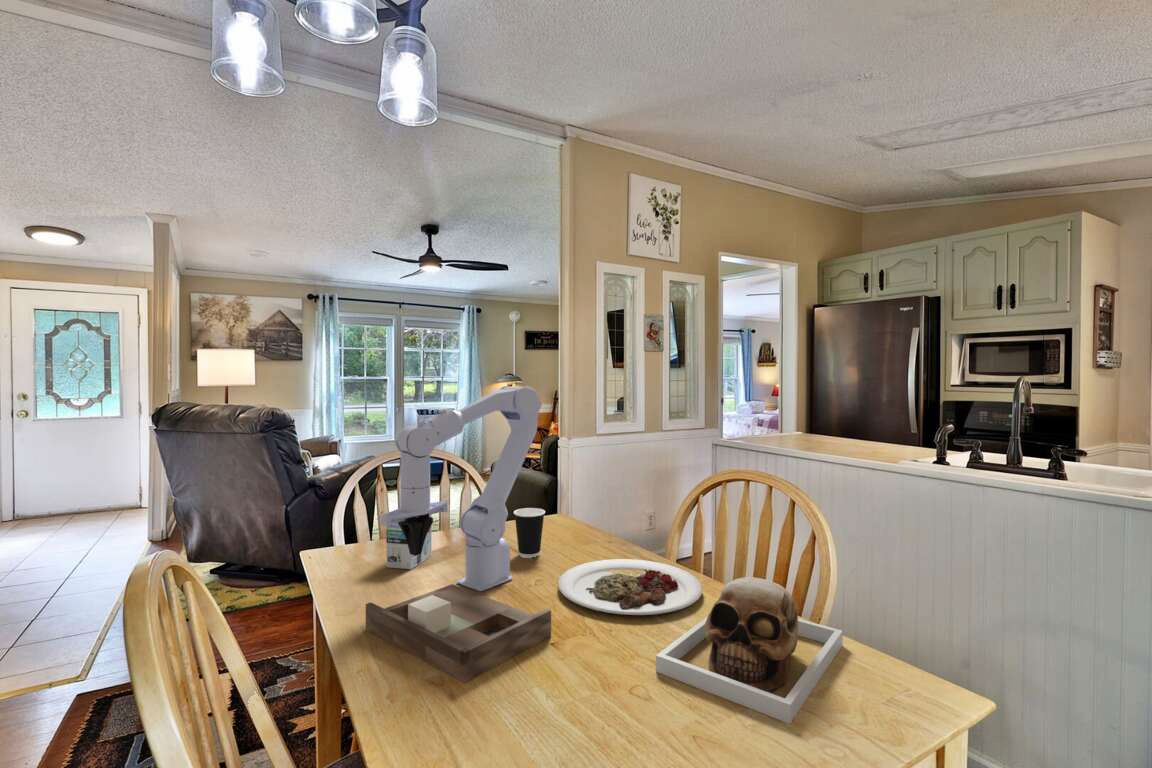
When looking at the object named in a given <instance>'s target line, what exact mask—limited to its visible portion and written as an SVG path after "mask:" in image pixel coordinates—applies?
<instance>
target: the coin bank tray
mask: <svg viewBox="0 0 1152 768" xmlns="http://www.w3.org/2000/svg"><path fill="white" fill-rule="evenodd" d="M707 618H708V615H707V616H706V617H705V618H703V619H701V620H700V622H698V623H696V624H695V625H694V626H693V627H691V628H690V629H689V630H687V631H686V632H685V633H684V634H682V635H681V636H680V637H678V638H677V639H676V640H674V641H673V642H672V643H670V644H668V646H666V647H665V648H663V649H662V650H661V651H660V652H659V653H657V654H656V655H655V672H656V673H658V674H661V675H664V676H666V677H669V678H672V679H674V680H676V681H679V682H681V683H684V684H687V685H689V686H692V687H694V688H696V689H699V690H702V691H705V692H707V693H710V694H711V695H715V696H718V697H720V698H722V699H725V700H727V701H730V702H733V703H735V704H738V705H741V706H743V707H745V708H749V709H751V710H754V711H756V712H759V713H760V714H763V715H766V716H769V717H771V718H774V719H776V720H779V721H781V722H783V723H787V724H788V725H791V724H792V722H793V720H794V719H795V717H796V716H797V714H798V713H799V712H800V710H801V709H802V707H803V706H804V705H805V702H806V701H807V699H808V698H809V697H810V695H811V694H812V692H813V691H814V689H815V687H817V684H818V683H819V681H820V680H821V678H822V677H823V675H824V674H825V672H826V671H827V669H828V668H829V667H830V665H831V663H832V662H833V661H834V659H835V657H836V656H837V654H839V651H840V650H841V649H842V646H843V630H841V629H838V628H834V627H831V626H827V625H824V624H819V623H816V622H812V621H808V620H804V619H802V618H798V636H799V637H802V638H806V639H809V640H813V641H816V642H820V643H823V644H824V645H823V646H822V648H821V649H820V650H819V652H818V653H817V654H816V656H815V657H814V659H813V660H812V661H811V662H810V664H809V665H808V666H807V668H806V669H805V671H804V672H803V673H802V675H801V676H800V677H799V679H798V680H797V681H796V683H795V685H793V687H792V688H791V690H790V691H789V692H788V694H787V695H786V697H785V698H784V697H781V696H779V695H777V694H773V693H771V692H766V691H763V690H760V689H757V688H755V687H752V686H749V685H746V684H744V683H741V682H738V681H735V680H733V679H730V678H727V677H725V676H722V675H719V674H716V673H714V672H711V671H709V669H705V668H702V667H699V666H697V665H694V664H691V663H688V662H686V661H683V660H681V659H682V657H684V656H686V654H687V653H689V652H690V651H691V650H692V649H693V648H695V647H696V646H697V645H699V644H700V643H701V642H702V641H703V640H705V639H706V637H705V622H706V620H707Z"/></svg>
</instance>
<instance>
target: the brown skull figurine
mask: <svg viewBox="0 0 1152 768" xmlns="http://www.w3.org/2000/svg"><path fill="white" fill-rule="evenodd" d="M708 613H709V614H708V615H707V616H708V618H707V620H706V622H705V637H706V638H705V639H706V641H708V642H709V643H711V648H710V654H709V658H708V671H711V672H714V673H716V674H719V675H722V676H725V677H727V678H730V679H733V680H735V681H738V682H741V683H744V684H746V685H749V686H752V687H755V688H757V689H760V690H763V691H766V692H768V693H771V691H773V690H777V689H779V687H780V686H784V685H785V684H786V683H787V681H788V679H789V676H790V667H791V659H792V658H791V657H792V654H793V653H795V650H796V648H797V645H798V636H799V635H798V619H799V618H798V617H799V615H798V609H797V605H796V602H795V599H794V598H793V596H792V595H791V593H790V592H789V591H788V590H787V589H786V588H785V587H784V586H782V585H781V584H778V583H776V582H774V581H771V580H768V579H765V578H764V579H763V578H760V577H753V576H744V577H740V578H739V577H738V578H735V579H733V580H731V581H729V582H727V583H726V584H724V586H723V588H722V589H721V593H720V596H719V597H718V599H717V601H715V603H714V604H713V606H712V607H711V609H710V612H708Z"/></svg>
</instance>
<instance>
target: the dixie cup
mask: <svg viewBox="0 0 1152 768" xmlns="http://www.w3.org/2000/svg"><path fill="white" fill-rule="evenodd" d="M545 514H546V510H544V509H543V508H537V507H536V508H535V507H525V508H519V509H515V510H514V511H513V515H514V519H515V528H516V529H515V530H516V539H517V541H516V542H517V548H518V553H519V556H520V557H521V558H523V559H533V558H532V557H535V558H537V557H539V556H538V555H539V554H540V552H541V544H542V536H543V526H544V516H545ZM536 556H537V557H536Z"/></svg>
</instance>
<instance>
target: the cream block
mask: <svg viewBox="0 0 1152 768" xmlns="http://www.w3.org/2000/svg"><path fill="white" fill-rule="evenodd" d="M408 620H409V621H411V622H413V623H415V624H417V625H419V626H421V627H423V628H425V629H427V630H430V631H432V632H434V633H436V632H438V631H440V630H443V629H445V628H447V627H449V626H451V602H449V601H446V600H444V599H441V598H439V597H436V596H434V595H432V596H429V597H426V598H424V599H421V600H418V601H416V602H413V603H410V604H408Z"/></svg>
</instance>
